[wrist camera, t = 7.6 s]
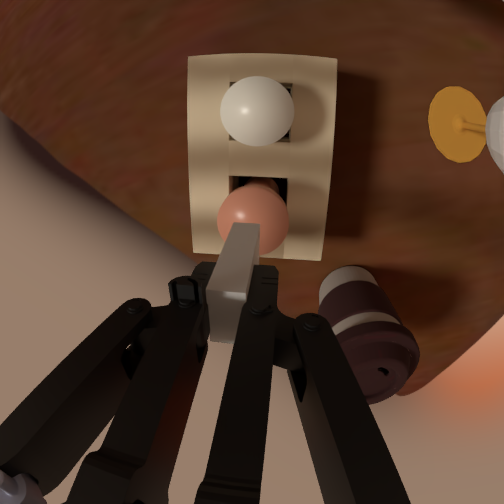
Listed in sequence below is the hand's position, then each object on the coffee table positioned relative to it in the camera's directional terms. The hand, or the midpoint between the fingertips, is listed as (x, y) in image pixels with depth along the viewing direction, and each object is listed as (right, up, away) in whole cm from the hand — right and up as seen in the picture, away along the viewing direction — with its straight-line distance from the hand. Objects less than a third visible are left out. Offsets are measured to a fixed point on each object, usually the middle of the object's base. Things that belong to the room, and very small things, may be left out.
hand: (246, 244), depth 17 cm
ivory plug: (+2, +13, +9) cm, 16 cm away
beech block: (+2, +10, +12) cm, 15 cm away
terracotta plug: (+1, +5, +12) cm, 13 cm away
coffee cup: (+12, -5, +18) cm, 22 cm away
